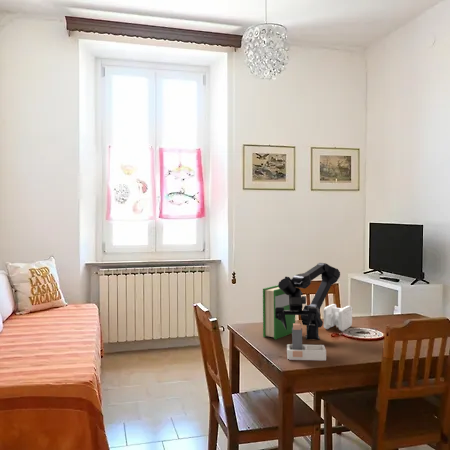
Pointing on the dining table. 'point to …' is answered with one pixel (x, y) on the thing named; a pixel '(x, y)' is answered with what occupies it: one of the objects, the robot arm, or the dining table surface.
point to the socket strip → (307, 352)
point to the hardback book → (270, 324)
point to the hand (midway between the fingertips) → (296, 329)
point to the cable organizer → (337, 317)
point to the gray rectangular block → (296, 336)
